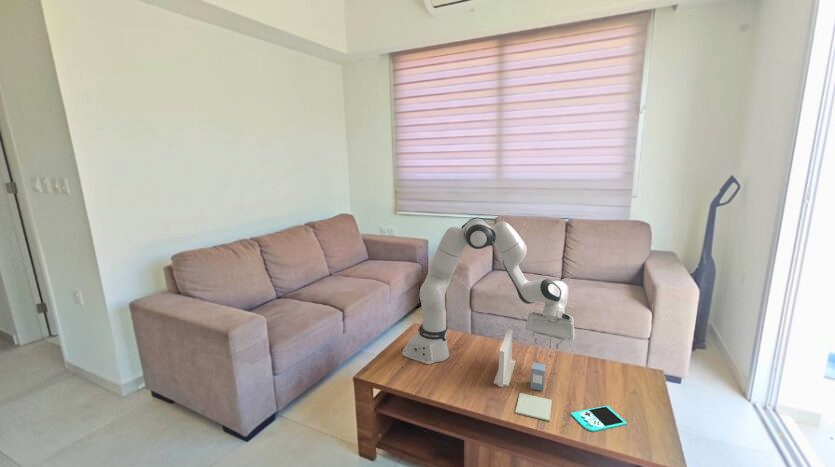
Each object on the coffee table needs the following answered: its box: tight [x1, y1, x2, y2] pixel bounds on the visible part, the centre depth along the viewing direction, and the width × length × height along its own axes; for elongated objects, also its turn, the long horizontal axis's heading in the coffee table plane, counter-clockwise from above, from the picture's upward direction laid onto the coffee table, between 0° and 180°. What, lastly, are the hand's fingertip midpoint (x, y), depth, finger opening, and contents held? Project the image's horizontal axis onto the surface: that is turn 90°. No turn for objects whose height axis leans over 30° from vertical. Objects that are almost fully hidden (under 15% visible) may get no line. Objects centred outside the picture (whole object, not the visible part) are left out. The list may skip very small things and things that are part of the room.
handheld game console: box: [570, 405, 628, 433], centre depth 135 cm, size 10×16×1 cm, turn 104°
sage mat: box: [515, 392, 553, 422], centre depth 141 cm, size 12×12×1 cm
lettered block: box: [530, 361, 547, 392], centre depth 153 cm, size 5×5×9 cm
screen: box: [493, 327, 516, 388], centre depth 162 cm, size 6×22×16 cm, turn 157°
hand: (546, 345), depth 160 cm, fingers open, 8 cm apart
